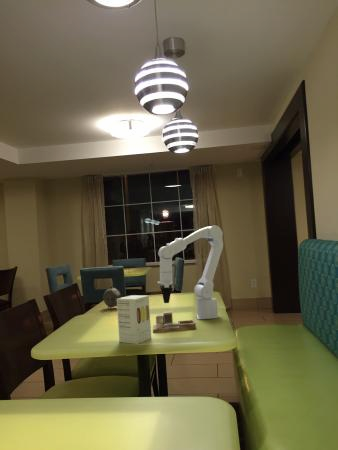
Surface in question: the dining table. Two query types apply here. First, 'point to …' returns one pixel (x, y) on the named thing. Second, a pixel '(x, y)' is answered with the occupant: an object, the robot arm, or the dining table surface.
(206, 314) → the robot arm
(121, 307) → the supplement box
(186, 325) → the rail base
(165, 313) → the block
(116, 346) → the dining table surface
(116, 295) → the alarm clock
